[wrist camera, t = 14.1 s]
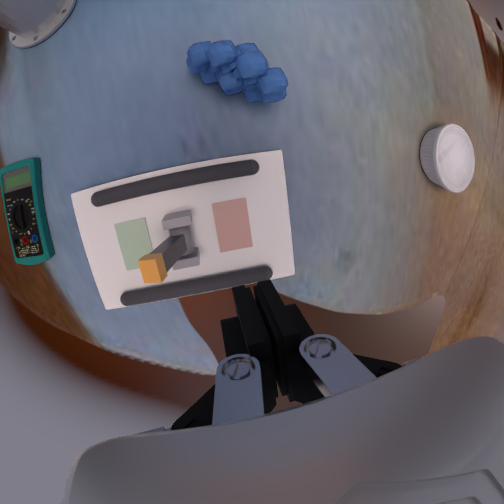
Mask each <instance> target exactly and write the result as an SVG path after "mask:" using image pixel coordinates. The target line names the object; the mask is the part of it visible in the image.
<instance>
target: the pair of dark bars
mask: <svg viewBox="0 0 504 504" xmlns="http://www.w3.org/2000/svg"><path fill="white" fill-rule="evenodd" d="M258 171H259V164H258V162H257V161H255V160H253V159H249V160H242V161H236V162H229V163H223V164H217V165H211V166H206V167H200V168H195V169H190V170H185V171H180V172H175V173H170V174H165V175H161V176H156V177H152V178H147V179H143V180H139V181H135V182H131V183H127V184H123V185H119V186H115V187H112V188H108V189H104V190H101V191H97V192H95V193H93V195H92V196H91V203H92V204H93V205H94V206H96V207H100V206H104V205H108V204H112V203H116V202H120V201H124V200H128V199H132V198H136V197H140V196H144V195H149V194H153V193H158V192H162V191H167V190H172V189H177V188H182V187H187V186H192V185H197V184H202V183H208V182H213V181H219V180H225V179H231V178H237V177H243V176H249V175H254V174H256V173H257V172H258ZM272 275H273V271H272V269H271V268H270V267H268V266H262V267H257V268H252V269H247V270H242V271H236V272H231V273H226V274H221V275H216V276H211V277H205V278H200V279H195V280H189V281H184V282H179V283H173V284H168V285H162V286H157V287H152V288H146V289H140V290H135V291H129V292H124V293H123V294H122V295H121V297H120V301H121V303H122V304H123V305H124V306H132V305H138V304H144V303H149V302H155V301H161V300H167V299H172V298H178V297H183V296H189V295H194V294H200V293H205V292H210V291H216V290H221V289H226V288H231V287H236V286H241V285H246V284H251V283H256V282H260V281H265V280H269V279H270V278H271V277H272Z"/></svg>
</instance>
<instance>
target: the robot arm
mask: <svg viewBox="0 0 504 504" xmlns="http://www.w3.org/2000/svg"><path fill="white" fill-rule="evenodd" d="M75 3H76V0H0V26H1V27H2V28H4V29H6V30H8V31H9V39H10V42H11V43H12V44H13V45H14V46H16V47H18V48H29V47H32V46H35V45H37V44H39V43H41V42H42V41H44V40H45V39H47V38H48V37H49V36H51V35H52V34H53V33H54V32H55V31H56V30H57V29H58V28H59V27H60V26H61V25H62V24H63V23H64V22H65V20H66V19H67V18H68V16H69V15H70V13H71V12H72V10H73V8H74V5H75ZM257 284H258V285H257V286H254V287H253V289H254V295H255V299H254V297H253V294H252V292H251V289H250V287H248V288H245V286H244V285H241V286H236V287H232V292H233V296H234V302H235V307H236V312H237V317H232V318H228V319H223V320H221V327H222V333H223V339H224V345H225V351H226V357H227V358H225V359H224V360H222V361H221V363H220V364H219V365H218V367H217V372H216V383H215V385H214V386H213V387H212V388H211V389H209V390H208V391H207V392H206V393H205V394H204V395H203V396H202V397H201V398H200V399H199V400H198V401H197V402H196V403H195V404H194V405H193V406H192V407H190V408H189V409H188V410H187V411H186V412H185V413H184V414H183V415H182V416H181V417H180V418H178V419H177V420H176V421H175V423H174V424H173V425H172V427H171V428H168V429H165V428H164V427H160V428H157V429H153V430H150V431H145V432H142V433H137V434H133V435H128V436H122V437H117V438H113V439H109V440H106V441H103V442H100V443H97V444H95V445H92V446H90V447H88V448H87V449H85V450H83V451H82V452H81V453H80V454H79V455H78V456H77V457H76V458H75V460H74V462H73V463H72V465H71V468H70V470H69V473H68V477H67V479H66V483H65V488H64V492H63V497H62V503H61V504H504V343H502V342H500V341H499V340H497V339H495V338H492V337H488V336H481V337H473V338H467V339H464V340H461V341H457V342H455V343H452V344H450V345H447V346H445V347H443V348H441V349H439V350H437V351H435V352H433V353H430V354H428V355H426V356H424V357H422V358H418V359H415V360H411V361H406V362H404V363H403V365H402V366H401V365H399V364H397V363H393V362H389V361H384V360H379V359H374V358H369V357H364V356H359V355H355V354H352V353H351V352H350V351H349V350H348V349H347V348H346V347H345V346H344V345H343V344H342V343H341V342H339V341H338V340H337V339H336V338H334V337H333V336H330V335H324V334H318V335H315V334H314V333H313V331H312V329H311V328H310V326H309V325H308V323H307V321H306V320H305V318H304V317H303V315H302V313H301V312H300V310H299V309H298V307H297V305H296V304H290V305H286V306H285V305H284V303H283V301H282V300H281V298H280V296H279V294H278V293H277V291H276V289H275V287H274V285H273V284H272V282H271V280H270V279H269V280H265V281H260V282H257ZM255 301H256V302H255ZM276 381H277V382H276ZM277 383H278V386H279V389H280V391H281V394H282V396H284V395H287V396H288V399H289V401H290V402H292V401H298V402H301V403H302V405H298V406H295V407H291V408H287V409H284V410H280V411H276V412H272V413H270V412H271V411H272V410H273V408H274V407H275V406H276V398H277V397H278V390H277Z"/></svg>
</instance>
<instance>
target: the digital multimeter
mask: <svg viewBox="0 0 504 504" xmlns="http://www.w3.org/2000/svg"><path fill="white" fill-rule="evenodd" d="M0 183H1V190H2V196H3V203H4V209H5V215H6V220H7V225H8V231H9V235H10V240H11V245H12V249H13V254H14V258H15V261H16V263H19V264H24V265H35V264H39V263H41V262H44V261H46V260H48V259H49V258H51V257H52V256H53V255H54V248H53V245H52V241H51V237H50V233H49V229H48V224H47V219H46V214H45V209H44V202H43V195H42V186H41V171H40V159H39V158H31V159H26V160H22V161H18V162H15V163H12V164H10V165H8V166H6V167H4V168H2V169H0ZM18 203H19V204H18ZM34 206H35V207H34ZM35 212H36V213H35ZM36 218H37V219H36ZM37 223H38V224H37ZM38 228H39V229H38ZM38 255H39V256H38ZM31 256H32V257H31Z"/></svg>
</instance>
